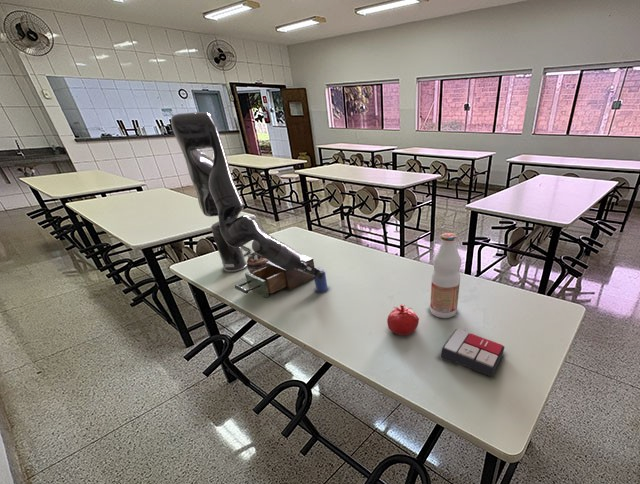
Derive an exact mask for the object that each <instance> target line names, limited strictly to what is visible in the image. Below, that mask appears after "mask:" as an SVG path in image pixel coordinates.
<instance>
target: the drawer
mask: <svg viewBox="0 0 640 484" xmlns="http://www.w3.org/2000/svg"><path fill="white" fill-rule="evenodd" d="M252 273H253V275H252V274H250V272H249V271H247V272H245V273H244V276H245V280H246V282H243V283H240V284H239V285H238V284H235V285H234V287H233V288H234V289H236V290H237V291H239V292H241V293H243V294H246V295H248V294H249V292H254V293H256V294H258V295H260V296H262V297H264V298H266V299H267V298H270V294H274V293H276V292H278V291H280V290H282V289H285V288H284V287H287V282H286V277H285V273H284V271H281V270H279V269H276V268H274V267H271V266H267V267H264V268H262V269H259V270H257V271H254V272H252ZM246 285H247V287H248V289H246V288H244V287H243V286H246Z"/></svg>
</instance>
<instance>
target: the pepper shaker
mask: <svg viewBox="0 0 640 484" xmlns="http://www.w3.org/2000/svg"><path fill="white" fill-rule="evenodd" d="M315 268H316V269H318V270H319V271H320V273H322V274H323V277H322V279H318V278H317V277H315V276H314V279H313V280H314V284H315V291H316V292H317V293H325V292H327V291H328V289H329V288H328V283H327V274H326V270H325V268H324V267H323V266H317V267H315Z"/></svg>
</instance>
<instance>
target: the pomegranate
mask: <svg viewBox="0 0 640 484" xmlns="http://www.w3.org/2000/svg"><path fill="white" fill-rule="evenodd" d="M393 308H394V309H392V310H391V311H390V312H389V314H388V316H387V319H386V323H387V327H388V328H387V329H388V330H389V331H390V332H391V333H394V334H395V335H400V336H408V335H410V334H412V333H414V332H415V331H416V330H417V328H418V326H419V321H420V318H419V316H418V315H417V313H415V311H413V310H411V307H406V304H399V307H398V306H393Z"/></svg>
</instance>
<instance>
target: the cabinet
mask: <svg viewBox="0 0 640 484" xmlns="http://www.w3.org/2000/svg"><path fill="white" fill-rule="evenodd" d="M299 254H300V259H301V260H303V261H305V262H306V263H307V264H310V265H311V266H313V267H314V268H316V266H315V261H314V258H313V257H310V256H308V255H304V254H301V253H299ZM267 266H271V267H274V268H276V269H279V270H281V271H284V273H285V277H286V282H287V287H284V288H283V289H285V290H287V291H291V290H294V289H295V288H298V287H299V286H302V285H304V284H306V283H308V282H310V281H312V280H315V279H314V276H313V275H311V274H305V273H303V272H301V271H298V270H295V269H294V270H292V271H287V270H285V269H283V268H281V267H279V266H277V265H275V264H274V263H272V262H270V261H268V262H266V267H267Z"/></svg>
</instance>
